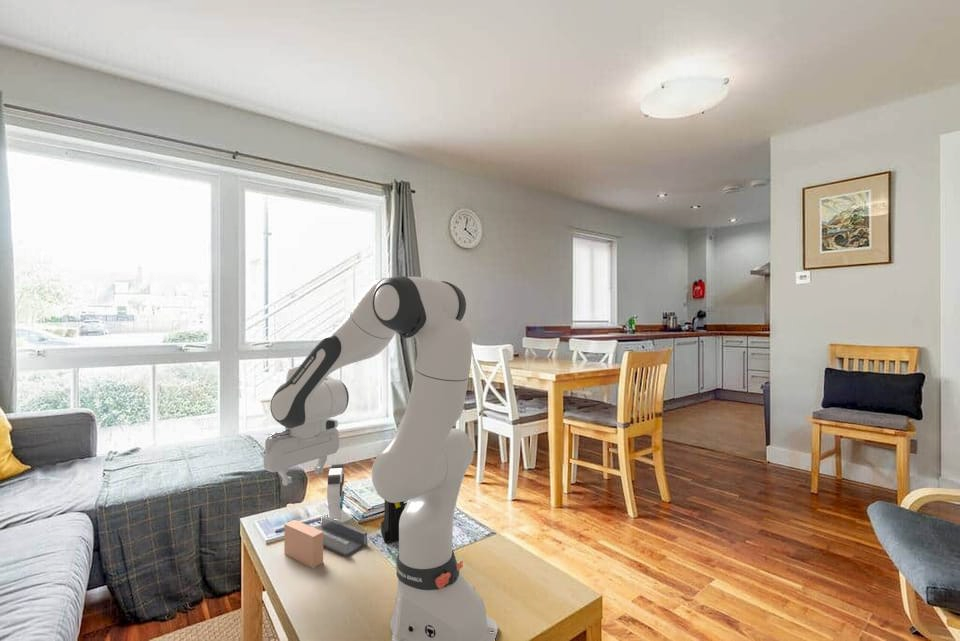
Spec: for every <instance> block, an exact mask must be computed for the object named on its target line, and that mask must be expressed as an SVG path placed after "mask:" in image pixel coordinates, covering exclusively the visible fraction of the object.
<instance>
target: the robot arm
mask: <svg viewBox="0 0 960 641" xmlns="http://www.w3.org/2000/svg"><path fill="white" fill-rule="evenodd" d="M466 300H467V299H466V297H465V295H464V292H463V291H462V290H461V289H460V288H459V287H458V286H457V285H455V284H454V283H452V282H448V281H443V280H442V281H440V280H436V279H432V278H430V277H429V278H428V277H424V276H405V275H404V276H403V275H397V276H396V275H395V276H391V277H382V278H381V277H380V278H378V279H376V280H374V281H373V282H372V283H371V284H370V285H369V286H368V287H367V288H366V289H365V291H364V292H363V293H362V294H361V295H360V297H359V298H358V299H357V301H356V302H355V304H354V306H353V307H352V309H351V310H350V312H349V313H348V314H347V316H346V317H345V318H344V320H343V321H342V322H341V323H340V324H339V325H338V326H337V327H336V328H335V329H334V330H333V331H332V332H330V333H329V334H328V335H327V336H325V337H324V338H323V339H321V340H320V341H319V342H318V343H317V344H316V345H315V347H314V348H313V349H312V350H311V351H310V353H309V354H308V356H306V358H305V359H304V360H303V362H302V363H301V364H298V365H293V366H291V367H290V368H288V370H287V375H286V380H285V383H283V384H281V385H280V386H279V387H278V388H277V389H276V391H275V392H274V393H273V396H272V398H271V401H270V408H269V409H270V413H271V416H272V418H273V419H274V420H275V421H276V422H277V423H278V424H280V426H283V427H284V430H281V431H277V432H273V433H271V434H270V436H268V437H267V438H266V439H265V444H264V445H265V446H264V448H265V451H264V456H263V457H264V458H263V467H264V468H263V469H265V470H266V471H268V472H271V473H278V474H279V476H280V477H281V478H282V480H281V481H282V482H281V484H282V486H289V485H291V484H292V480H293V478H292V476H289V475H288V474H287V473H289V468H292V467H295V466H298V465H301V464H305V463H308V462H310V461H311V462H312V461H314V460H318V462H317V464H316V466H314V470H313V471H314V474H316V475H319V474H323V473H324V467H325V465H326V462H327V460H328V456H329V455H333V454H336V453H337V452H338V451H339V448H340V435H339V434H340V432H339V430H338V429H337V428H338V426H339V425H338V424H339V422H338V420H336V419H334V417H335V418H336V417H337V416H340V415H342V414H343V413H345V411H346V409H347V408H348V406H349V405H348V404H349V401H350V399H349V398H350V396H349V395H350V394H349V390H348V388H347V386H346V384H344V382H342V381H341V380H339V379H337V378H336V379H335V378H334V377H332V376H329V375H330V374H332V373H333V372H335V371H336V370H338V369H340V368H342V367H343V368H344V367H346V366H347V365H348V366H349V365H351V364H354V363H357V362H362V361H365V360H368V359H372V358H373V357H375V356H377V355H379V354H380V353H381V352H382V351H384V349H386V347H387V346H388V345H389V344H390V343H391V341H392V340H393V338H394V336H395V335H396V333H397V334H398V335H399V336H400V337H402V338H403V339H409V338H412V337H414V338H415V340H416V342H417V356H416V361H415V365H414V366H415V367H414V371H413V377H412V384H411V389H410V392H409V398H408V402H407V406H406V409H405V412H404V414H403V416H402V418H401V420H400V422H399V425H398V427H397V429H396V430H395V432H394V434H393V436H392V438H391V440H390V441H389V442H388V443H387V445H386V447H385V448H383V450H382V451H381V452H380V453H379V454H378V455H377V456H376V457H375V459H374V461H373V463H372V466H371V481H372V484H373V487H374V489H375V491H376V494H378V496H380V498H382V499H383V500H384V501H385V500H386V501H388V502H391V503H396V502H402V501H404V502H406V501H408V502H407V504H406V506H404V510H403V512H402V514H401V517H400V520H399V541H398V553H397V555H396V565H395V566H396V567H395V568H396V577H397V587H396V596H395V597H396V598H395V602H394V607H393V608H394V609H393V612H392V615H391V619H390V623H389V627H390V631H391V635H392V636H391V641H494V639H495V637H496V635H497V632H498V633H499V630H498V629H499V627H498V623H497V622H496V620H493V619H492V618H491V617H489V616H488V615H487V610H486V605H485V601H484V598H482V596H480V594H479V593H478V592H477V591H476V588H475V587H474V585H473V584H470V582H468V581H467V580H466V578H465V577H464V576H463V574H461V573H460V570H461V569H462V568H463V567H464V564H463V563H464V560H461V561H460V562H458V560H457V557H456V554H455V553H454V552H455V551H454V550H453V538H454V537H453V536H454V535H453V532H454V516H455V510H456V506H457V501H458V497H459V493H460V490H461V486H462V484H463V479H464V478H465V475H466V472H467V470H468V469H469V467H470V466H471V464H472V462H473V461H474V456H475V449H474V445H473V442H472V439H471V438H470V436H469V435H468V434H467V433H466V432H465V431H463V430H462V429H459V428H455V427H454V426H455V424H457V422H458V421H459V419H460V418H461V416H462V414H463V413H464V412H463V411H464V406H465V402H466V395H467V389H468V385H469V384H468V383H469V380H470V379H469V378H470V373H471V365H472V354H473V353H472V352H473V335H472V331H471V329H470V327H469V326H468V325H466V323H464V322H463V321H462V320H463V318H464V316H465V314H466V312H467V311H466V309H467V302H466ZM453 427H454V428H453ZM490 632H494V633H490ZM497 636H498V635H497Z"/></svg>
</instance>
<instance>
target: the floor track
mask: <svg viewBox="0 0 960 641" xmlns="http://www.w3.org/2000/svg"><path fill="white" fill-rule="evenodd" d="M306 525H308V526H310V527H313V528H315V529H317V530H320V531H322V532H323V549H324V548H325V549H326V550H330V551H331V552H334V553H336V554H338V555H340V556H342V557H344V558H347V557H349V556H350V555H353V554H355V553H356V552H358V551H359V550H361V549H362V548H364V547H367V546H368V532H367V531H364V530H361V529H359V528H357V527H354V526H352V525H349V524H347V523H345V522H344V523H342V522H339V521H337V520H334V519H332V518H329V517H327V516H323V517H321V524H320V525H321V526H320V527H318V528H317V527H316V526H312V525H310V524H307V523H306Z"/></svg>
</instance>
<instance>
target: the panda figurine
mask: <svg viewBox="0 0 960 641" xmlns="http://www.w3.org/2000/svg"><path fill="white" fill-rule="evenodd" d="M344 485H345V474H344V464H343V463H338V464H337V463H336V464H331V468H330V469H329V471H328V475H327V489H326V490H327V492H326V494H327V496H326V498H327V499H326V500H327V507H328V508H327V509H328V517H329V518H332V519H339V520H338V521H339V522H342V523H344V524H345V523H347V522H349V521H350V520H352V519H353V517H354V516H352V515H351V513H350V512H349V510H348V509H347V508H348V507H343V506H344V505H343V504H344V499H345V491H344V490H343V489H344Z"/></svg>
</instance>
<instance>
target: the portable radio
mask: <svg viewBox="0 0 960 641" xmlns="http://www.w3.org/2000/svg"><path fill="white" fill-rule="evenodd" d="M404 508H405V501H402V502H396V503H391V502H388V501H386V500H384V510H383V511H384V515H383V516H384V518H383V520H382V521H381V523H380V533H381V536H382V539H383V543H394V542H399V520H400V517H401V514H402V512H403V510H404Z"/></svg>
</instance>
